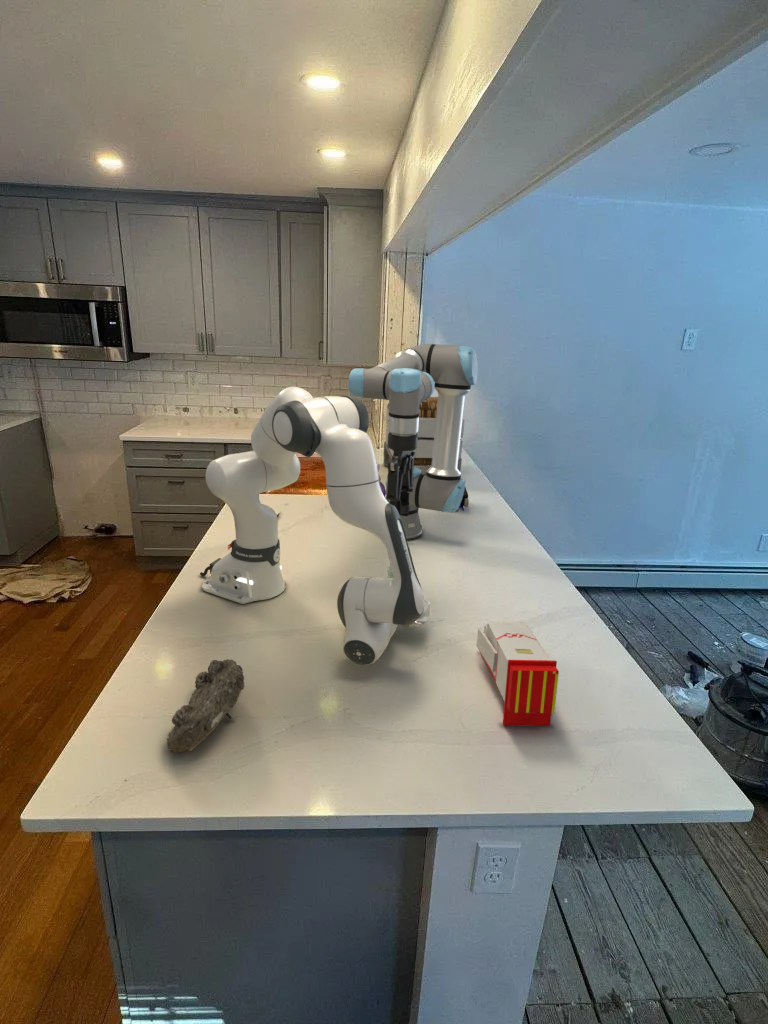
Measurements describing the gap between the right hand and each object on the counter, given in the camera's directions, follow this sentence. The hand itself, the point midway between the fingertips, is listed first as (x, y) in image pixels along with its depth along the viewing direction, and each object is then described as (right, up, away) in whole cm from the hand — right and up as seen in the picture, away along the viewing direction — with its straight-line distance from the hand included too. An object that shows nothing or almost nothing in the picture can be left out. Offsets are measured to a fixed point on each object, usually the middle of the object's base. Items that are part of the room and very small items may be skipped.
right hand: (399, 518), depth 150 cm
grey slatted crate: (+13, +21, +125) cm, 127 cm away
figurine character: (+26, +4, +80) cm, 84 cm away
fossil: (-37, -37, -42) cm, 67 cm away
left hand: (-1, -19, -4) cm, 19 cm away
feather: (-43, 0, +61) cm, 75 cm away
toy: (+23, -35, -28) cm, 50 cm away
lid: (0, +4, -2) cm, 4 cm away
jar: (-1, -25, -3) cm, 25 cm away
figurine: (-8, +6, +83) cm, 84 cm away
